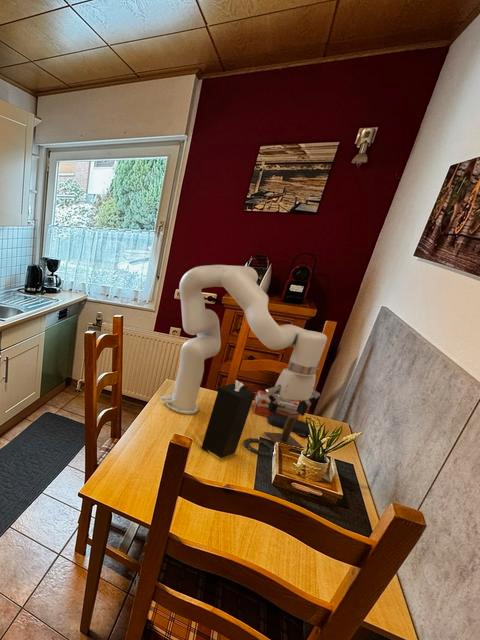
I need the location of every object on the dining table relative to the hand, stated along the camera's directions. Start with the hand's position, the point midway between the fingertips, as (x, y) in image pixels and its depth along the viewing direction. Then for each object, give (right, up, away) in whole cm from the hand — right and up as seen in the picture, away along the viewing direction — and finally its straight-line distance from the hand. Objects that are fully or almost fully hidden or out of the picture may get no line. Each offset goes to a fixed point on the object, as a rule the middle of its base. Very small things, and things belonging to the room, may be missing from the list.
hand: (285, 412), depth 135 cm
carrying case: (+16, -9, +21) cm, 28 cm away
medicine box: (+17, -5, +31) cm, 36 cm away
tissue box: (-22, -15, +4) cm, 26 cm away
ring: (-6, -13, +5) cm, 15 cm away
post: (+7, -13, +11) cm, 18 cm away
